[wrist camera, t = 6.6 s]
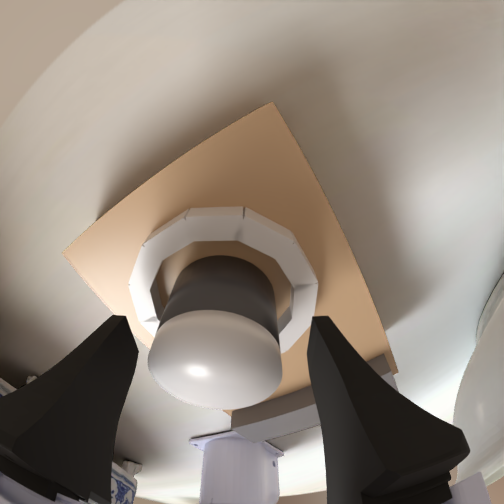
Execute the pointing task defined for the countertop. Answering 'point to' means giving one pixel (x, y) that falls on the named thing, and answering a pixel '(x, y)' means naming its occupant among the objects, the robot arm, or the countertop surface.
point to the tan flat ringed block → (239, 254)
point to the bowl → (484, 396)
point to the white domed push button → (218, 336)
